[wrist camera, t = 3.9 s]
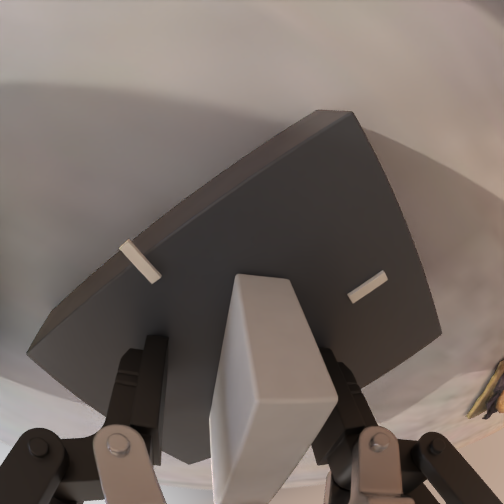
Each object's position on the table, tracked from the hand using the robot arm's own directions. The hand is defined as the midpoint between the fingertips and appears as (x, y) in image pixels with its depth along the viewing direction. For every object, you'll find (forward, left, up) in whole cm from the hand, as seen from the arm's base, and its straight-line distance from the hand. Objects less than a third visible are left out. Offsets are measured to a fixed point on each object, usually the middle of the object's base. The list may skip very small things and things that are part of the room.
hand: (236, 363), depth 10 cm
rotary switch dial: (0, 0, -3) cm, 3 cm away
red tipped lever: (0, 0, 0) cm, 0 cm away
